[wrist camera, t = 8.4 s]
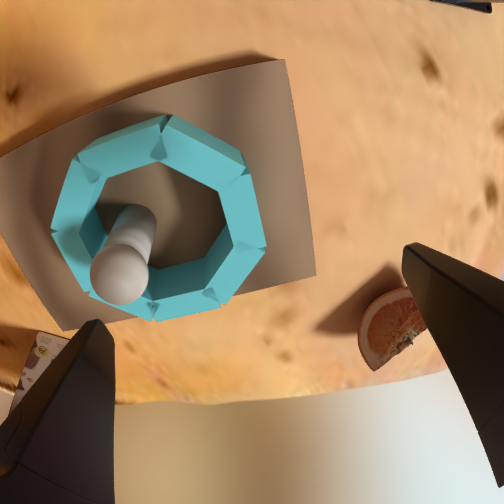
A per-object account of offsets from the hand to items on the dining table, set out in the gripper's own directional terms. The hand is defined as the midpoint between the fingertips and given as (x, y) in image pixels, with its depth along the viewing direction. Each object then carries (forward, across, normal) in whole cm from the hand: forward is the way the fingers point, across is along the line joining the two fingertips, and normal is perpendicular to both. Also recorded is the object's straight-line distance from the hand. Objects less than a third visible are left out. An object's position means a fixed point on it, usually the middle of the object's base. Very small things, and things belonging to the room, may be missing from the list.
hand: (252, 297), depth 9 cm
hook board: (+12, +6, +2) cm, 13 cm away
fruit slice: (+12, -11, +16) cm, 23 cm away
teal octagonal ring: (+10, +4, +1) cm, 11 cm away
